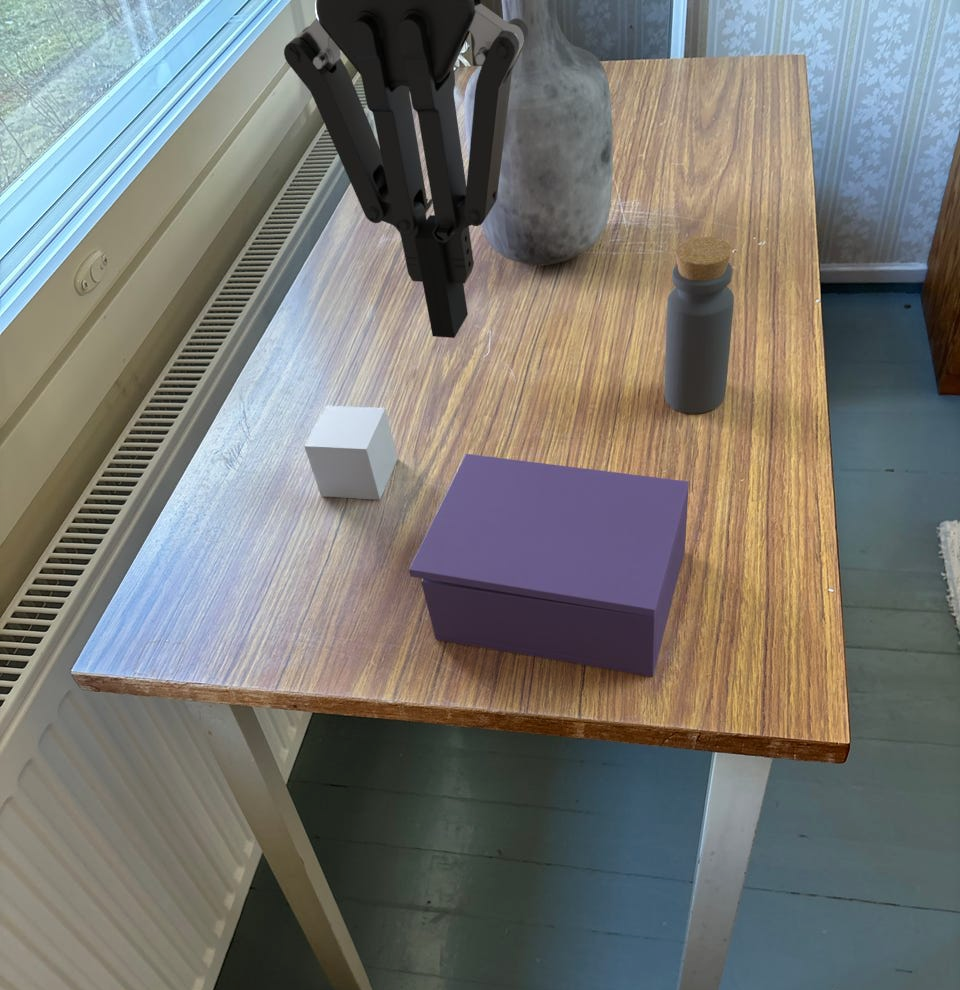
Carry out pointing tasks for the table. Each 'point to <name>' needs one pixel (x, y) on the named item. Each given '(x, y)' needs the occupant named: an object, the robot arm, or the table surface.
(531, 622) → the box
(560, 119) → the vase
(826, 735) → the table surface
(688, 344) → the bottle
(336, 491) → the white cube
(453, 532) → the lid
